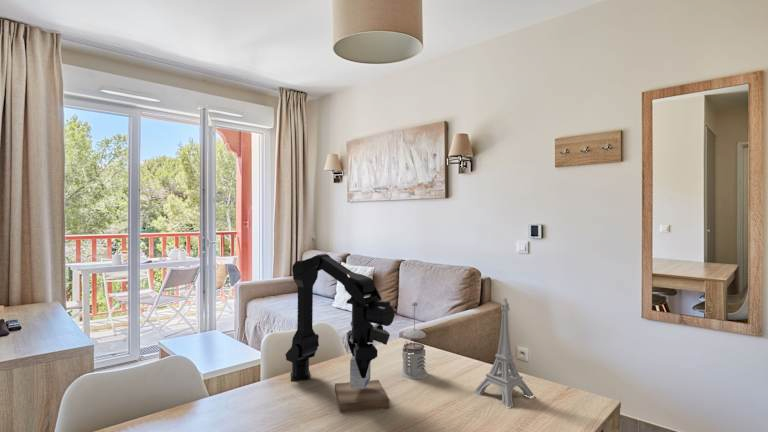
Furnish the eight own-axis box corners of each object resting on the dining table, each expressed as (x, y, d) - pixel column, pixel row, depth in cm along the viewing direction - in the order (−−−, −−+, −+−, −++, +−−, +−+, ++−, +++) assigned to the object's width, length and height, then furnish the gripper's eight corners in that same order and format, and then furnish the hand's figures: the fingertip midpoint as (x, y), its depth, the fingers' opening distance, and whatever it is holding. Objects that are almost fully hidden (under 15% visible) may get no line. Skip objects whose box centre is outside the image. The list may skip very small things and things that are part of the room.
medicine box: (364, 390, 119) (364, 360, 119) (349, 388, 120) (350, 358, 120) (370, 379, 127) (371, 351, 127) (356, 377, 128) (357, 349, 127)
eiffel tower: (500, 382, 137) (501, 292, 137) (535, 397, 126) (536, 299, 126) (472, 392, 129) (474, 297, 129) (508, 409, 118) (509, 304, 118)
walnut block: (334, 391, 128) (334, 383, 128) (378, 387, 132) (378, 379, 132) (340, 412, 115) (340, 403, 115) (389, 407, 118) (389, 399, 118)
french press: (432, 372, 145) (433, 301, 145) (417, 383, 135) (418, 307, 135) (408, 366, 150) (409, 298, 150) (391, 377, 140) (392, 303, 140)
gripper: (395, 327, 116) (394, 382, 116) (380, 311, 134) (379, 359, 134) (356, 329, 113) (355, 385, 114) (346, 312, 132) (345, 361, 132)
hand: (360, 371), depth 123 cm, fingers closed on medicine box, 9 cm apart
